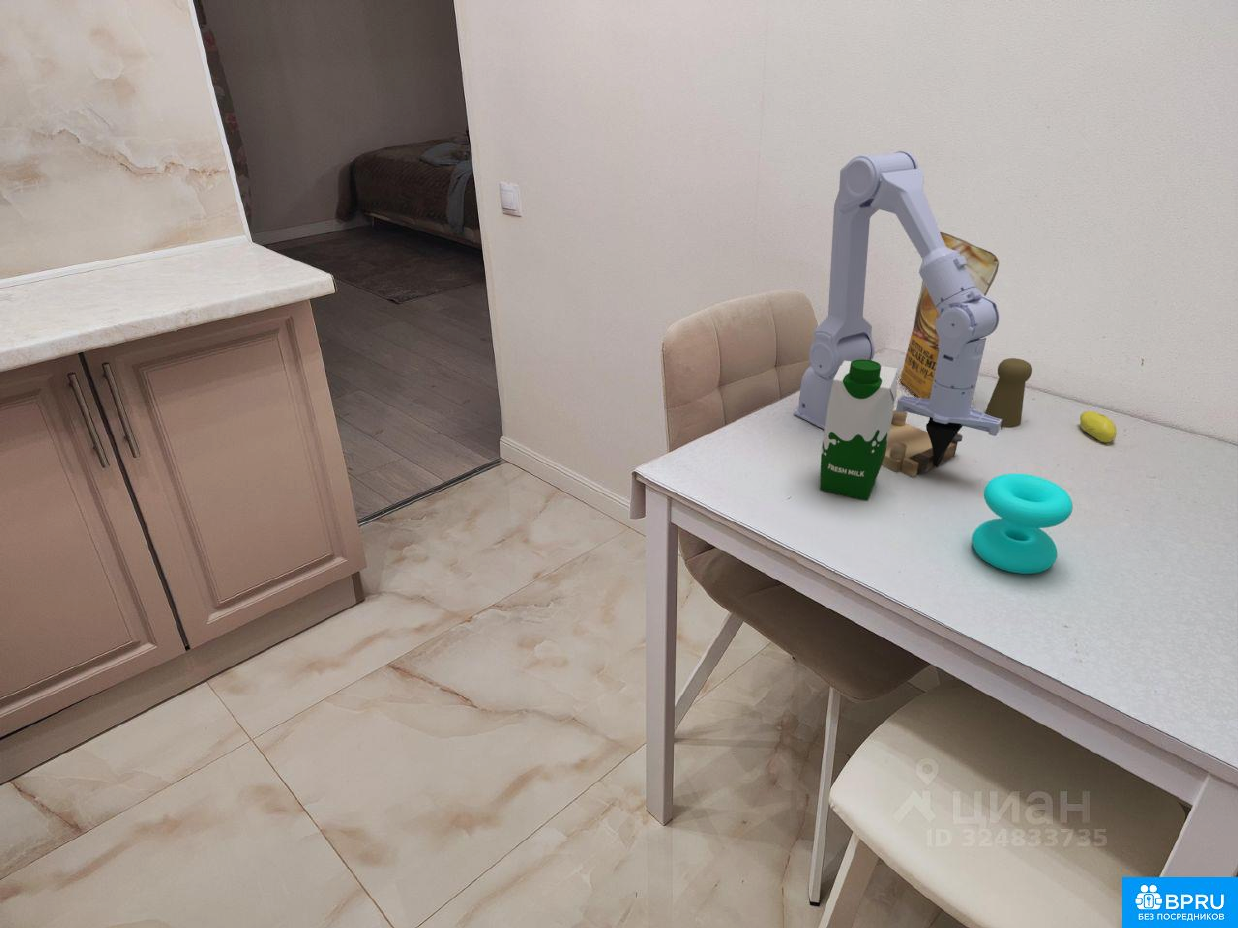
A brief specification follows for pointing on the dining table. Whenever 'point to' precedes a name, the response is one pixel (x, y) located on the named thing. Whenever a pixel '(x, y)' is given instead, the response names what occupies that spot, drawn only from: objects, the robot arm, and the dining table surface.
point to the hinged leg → (931, 458)
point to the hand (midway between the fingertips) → (937, 463)
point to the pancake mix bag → (924, 333)
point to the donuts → (1021, 523)
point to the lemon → (1098, 426)
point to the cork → (1009, 392)
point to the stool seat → (907, 445)
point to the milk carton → (857, 427)
